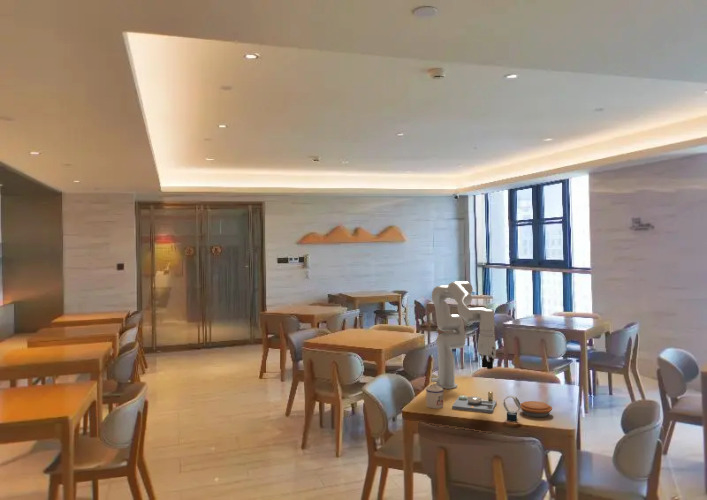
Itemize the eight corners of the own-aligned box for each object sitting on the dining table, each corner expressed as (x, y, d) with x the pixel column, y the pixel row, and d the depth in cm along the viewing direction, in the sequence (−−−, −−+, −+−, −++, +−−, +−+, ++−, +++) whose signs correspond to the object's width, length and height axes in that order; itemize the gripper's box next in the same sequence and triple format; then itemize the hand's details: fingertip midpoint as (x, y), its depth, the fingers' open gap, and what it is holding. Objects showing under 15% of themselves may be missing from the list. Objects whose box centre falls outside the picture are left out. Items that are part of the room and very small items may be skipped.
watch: (520, 421, 247) (520, 398, 247) (502, 420, 250) (502, 396, 250) (521, 418, 252) (521, 395, 252) (504, 416, 255) (503, 393, 255)
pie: (555, 419, 250) (555, 409, 250) (521, 418, 253) (521, 407, 253) (549, 410, 266) (549, 400, 266) (517, 408, 268) (517, 398, 268)
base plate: (452, 408, 268) (452, 402, 268) (458, 399, 284) (458, 393, 284) (492, 413, 260) (492, 406, 260) (496, 403, 277) (496, 397, 277)
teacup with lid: (439, 409, 266) (439, 386, 266) (423, 407, 271) (423, 384, 271) (448, 404, 276) (448, 381, 277) (432, 401, 281) (432, 379, 281)
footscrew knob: (466, 403, 270) (466, 391, 270) (469, 400, 277) (468, 388, 277) (492, 406, 266) (491, 394, 266) (493, 402, 272) (493, 390, 272)
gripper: (471, 331, 282) (471, 365, 282) (491, 335, 267) (491, 372, 267) (483, 330, 285) (483, 364, 285) (503, 334, 270) (503, 370, 270)
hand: (487, 367), depth 276 cm, fingers open, 3 cm apart
